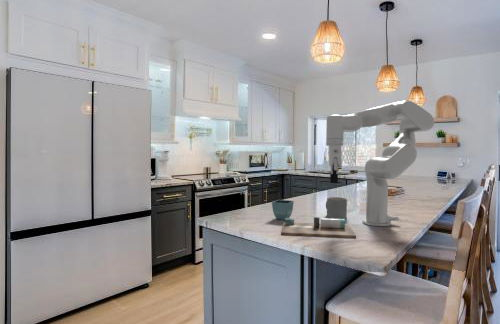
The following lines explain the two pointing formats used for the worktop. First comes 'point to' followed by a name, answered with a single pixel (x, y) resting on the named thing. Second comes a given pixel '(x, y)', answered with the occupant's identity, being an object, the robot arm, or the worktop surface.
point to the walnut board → (315, 229)
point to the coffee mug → (336, 208)
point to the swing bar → (332, 223)
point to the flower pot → (282, 209)
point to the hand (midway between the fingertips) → (333, 182)
